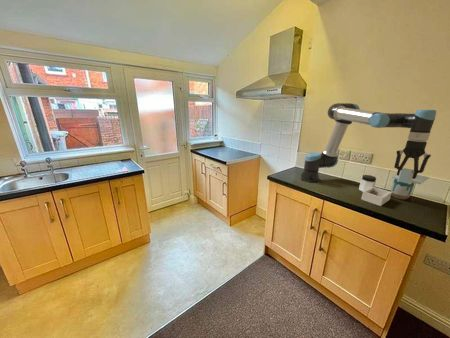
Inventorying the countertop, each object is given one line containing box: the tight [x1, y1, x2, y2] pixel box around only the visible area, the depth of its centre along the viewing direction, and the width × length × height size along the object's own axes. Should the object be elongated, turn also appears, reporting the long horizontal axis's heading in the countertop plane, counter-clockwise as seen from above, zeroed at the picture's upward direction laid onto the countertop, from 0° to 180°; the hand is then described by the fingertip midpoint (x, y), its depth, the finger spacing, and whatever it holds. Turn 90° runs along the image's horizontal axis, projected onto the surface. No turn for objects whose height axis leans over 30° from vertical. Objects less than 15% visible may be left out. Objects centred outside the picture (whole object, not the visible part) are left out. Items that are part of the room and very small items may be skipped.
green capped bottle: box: [390, 178, 415, 201], centre depth 130 cm, size 11×11×19 cm
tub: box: [360, 186, 392, 207], centre depth 128 cm, size 11×16×6 cm
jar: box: [358, 174, 377, 193], centre depth 141 cm, size 9×8×12 cm
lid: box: [391, 167, 430, 185], centre depth 109 cm, size 12×22×8 cm, turn 123°
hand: (404, 182), depth 105 cm, fingers closed on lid, 4 cm apart
